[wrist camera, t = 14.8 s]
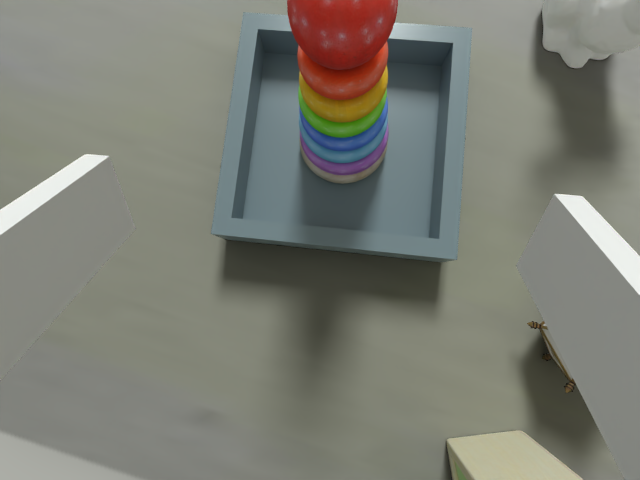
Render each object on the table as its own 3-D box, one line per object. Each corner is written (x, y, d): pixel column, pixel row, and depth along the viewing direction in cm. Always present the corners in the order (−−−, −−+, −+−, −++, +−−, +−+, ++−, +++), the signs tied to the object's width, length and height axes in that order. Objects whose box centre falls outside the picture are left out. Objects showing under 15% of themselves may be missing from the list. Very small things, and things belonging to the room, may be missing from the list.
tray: (226, 239, 32) (211, 233, 28) (254, 43, 35) (243, 12, 31) (441, 262, 31) (457, 259, 27) (455, 57, 34) (472, 28, 30)
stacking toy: (351, 88, 33) (375, -165, 14) (403, 153, 32) (500, -26, 13) (283, 135, 32) (216, -58, 14) (333, 202, 32) (333, 92, 13)
